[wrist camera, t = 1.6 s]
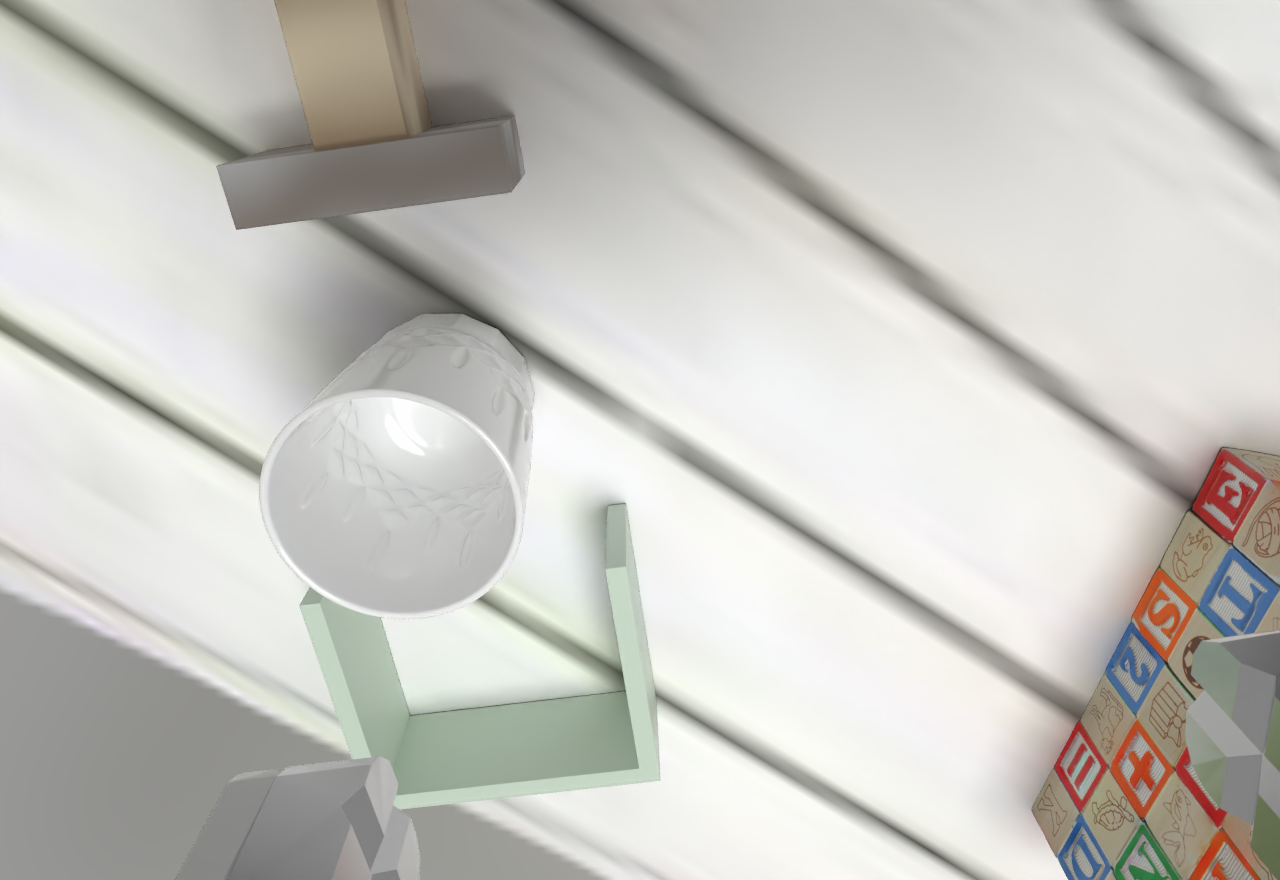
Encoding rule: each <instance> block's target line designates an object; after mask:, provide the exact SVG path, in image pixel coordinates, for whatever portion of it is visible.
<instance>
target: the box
mask: <svg viewBox="0 0 1280 880" xmlns="http://www.w3.org/2000/svg"><path fill="white" fill-rule="evenodd" d="M605 572H606V577H607V583H608V589H609V595H610V601H611V606H612V612H613V618H614V624H615V630H616V636H617V641H618V647H619V653H620V659H621V665H622V671H623V676H624V682H625V688H626V691H623V692H614V693H605V694H597V695H588V696H579V697H570V698H562V699H553V700H544V701H535V702H527V703H518V704H509V705H500V706H492V707H483V708H474V709H465V710H456V711H448V712H439V713H430V714H421V715H413V716H410V714H409V711H408V707H407V704H406V701H405V697H404V694H403V691H402V688H401V684H400V681H399V678H398V674H397V671H396V668H395V664H394V661H393V658H392V654H391V651H390V648H389V645H388V641H387V638H386V635H385V631H384V628H383V625H382V621H381V618H380V617H376V616H371V615H367V614H363V613H360V612H356V611H354V610H351V609H348V608H346V607H343V606H341V605H339V604H337V603H335V602H333V601H331V600H329V599H327V598H325V597H324V596H322V595H321V594H319V593H318V592H316V591H315V590H313V589H312V588H311V587H310V588H309V590H308V591H307V593H306V595H305V597H304V598H303V600H302V602H301V604H300V605H299V606H300V609H301V612H302V615H303V618H304V621H305V624H306V626H307V629H308V632H309V635H310V638H311V641H312V644H313V647H314V650H315V653H316V655H317V658H318V661H319V664H320V667H321V670H322V673H323V676H324V679H325V681H326V684H327V687H328V690H329V693H330V696H331V699H332V702H333V705H334V708H335V710H336V713H337V716H338V719H339V722H340V725H341V728H342V731H343V734H344V736H345V739H346V742H347V745H348V748H349V751H350V754H351V757H352V759H361V758H369V757H378V756H380V757H383V758H385V759H387V760H389V761H390V764H391V766H392V769H393V771H394V774H395V776H396V779H397V781H398V784H399V786H398V790H397V793H396V797H395V800H394V804H393V805H394V806H395V807H397V808H398V809H407V808H416V807H426V806H435V805H444V804H453V803H462V802H471V801H480V800H490V799H499V798H508V797H517V796H526V795H535V794H544V793H553V792H562V791H571V790H580V789H589V788H599V787H608V786H617V785H626V784H635V783H644V782H653V781H660V762H659V742H658V721H657V701H656V694H655V688H654V682H653V675H652V669H651V662H650V656H649V649H648V643H647V636H646V630H645V623H644V617H643V611H642V604H641V598H640V591H639V585H638V578H637V572H636V565H635V559H634V552H633V546H632V539H631V533H630V527H629V520H628V514H627V507H626V504H617V505H609V506H607V531H606V558H605Z"/></svg>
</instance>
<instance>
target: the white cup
mask: <svg viewBox="0 0 1280 880" xmlns="http://www.w3.org/2000/svg"><path fill="white" fill-rule="evenodd" d="M534 395H535V392H534V389H533V386H532V382H531V379H530V376H529V372H528V369H527V366H526V362H525V359H524V357H523V356H522V355H521V354H520V353H519V352H518V351H517V350H516V348H515V347H514V346H513V345H512V344H511V343H510V342H509V341H508V340H507V339H506V337H505V336H504V335H503V334H502V333H501V332H500V331H499V330H498V329H496V328H494V327H491V326H489V325H487V324H485V323H482V322H480V321H478V320H476V319H473V318H471V317H469V316H466V315H464V314H421V315H419V316H417V317H415V318H413V319H411V320H409V321H407V322H405V323H403V324H401V325H399V326H397V327H395V328H393V329H391V330H389V331H388V332H387V333H386V334H385V335H384V336H383V337H382V338H381V339H380V340H379V341H378V342H377V343H375V344H374V345H372V346H371V347H370V348H368V349H367V350H366V351H364V352H363V353H362V354H361V355H360V356H359V357H358V358H357V359H356V360H355V361H353V362H352V363H351V364H350V365H348V366H347V367H346V368H345V369H344V370H343V371H342V372H341V373H339V374H338V375H337V376H336V377H335V378H334V379H333V380H332V381H331V382H330V383H329V384H328V385H327V386H326V387H325V388H324V389H323V390H322V391H321V392H320V393H319V394H318V395H317V396H316V397H315V398H314V399H313V400H312V401H311V402H310V403H309V404H308V405H307V406H306V407H305V408H304V409H302V410H301V411H300V412H299V413H298V414H297V415H296V416H295V417H294V418H293V419H292V420H291V421H290V422H289V423H288V424H287V425H286V426H285V427H284V428H283V429H282V431H281V432H280V433H279V434H278V436H277V437H276V439H275V440H274V442H273V443H272V445H271V447H270V449H269V451H268V453H267V455H266V458H265V461H264V464H263V467H262V472H261V477H260V486H259V499H260V508H261V513H262V518H263V521H264V524H265V527H266V530H267V533H268V535H269V537H270V539H271V541H272V543H273V545H274V547H275V549H276V550H277V552H278V553H279V555H280V556H281V558H282V559H283V561H284V562H285V563H286V564H287V566H288V567H289V568H290V569H291V570H292V571H293V572H294V573H295V574H296V575H297V576H298V577H299V578H300V579H301V580H302V581H303V582H304V583H306V584H307V585H308V586H309V587H311V588H312V589H313V590H315V591H316V592H318V593H319V594H321V595H322V596H324V597H325V598H327V599H329V600H331V601H333V602H335V603H337V604H339V605H341V606H343V607H346V608H348V609H351V610H354V611H356V612H360V613H363V614H367V615H371V616H376V617H381V618H389V619H421V618H429V617H434V616H439V615H442V614H446V613H449V612H452V611H455V610H457V609H460V608H462V607H464V606H466V605H468V604H470V603H472V602H473V601H475V600H477V599H478V598H480V597H481V596H483V595H484V594H485V593H486V592H488V591H489V590H490V589H491V588H492V587H493V586H494V585H495V584H496V583H497V582H498V581H499V580H500V579H501V578H502V576H503V575H504V574H505V572H506V571H507V570H508V568H509V566H510V565H511V563H512V561H513V559H514V557H515V555H516V553H517V550H518V547H519V544H520V541H521V537H522V532H523V524H524V515H525V507H526V499H527V491H528V483H529V475H530V468H531V453H532V439H533V419H532V409H533V402H534Z"/></svg>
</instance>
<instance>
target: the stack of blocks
mask: <svg viewBox="0 0 1280 880" xmlns="http://www.w3.org/2000/svg"><path fill="white" fill-rule="evenodd" d="M1131 619H1132V622H1131V623H1130V624H1129V626H1128V628H1127V630H1126V632H1125V634H1124V636H1123V638H1122V640H1121V642H1120V643H1119V645H1118V647H1117V649H1116V651H1115V653H1114V655H1113V657H1112V659H1111V661H1110V663H1109V664H1108V666H1107V668H1106V673H1105V674H1104V675H1103V677H1102V679H1101V681H1100V683H1099V685H1098V687H1097V688H1096V690H1095V692H1094V694H1093V696H1092V698H1091V700H1090V702H1089V704H1088V706H1087V708H1086V710H1085V712H1084V713H1083V715H1082V718H1081V720H1080V721H1079V722H1078V723H1077V724H1076V726H1075V728H1074V730H1073V731H1072V733H1071V735H1070V737H1069V739H1068V741H1067V743H1066V745H1065V747H1064V749H1063V751H1062V753H1061V754H1060V756H1059V758H1058V760H1057V762H1056V764H1055V766H1054V768H1053V770H1052V771H1051V773H1050V775H1049V776H1048V778H1047V780H1046V782H1045V784H1044V786H1043V788H1042V790H1041V792H1040V794H1039V795H1038V797H1037V799H1036V801H1035V803H1034V805H1033V807H1032V813H1033V815H1034V817H1035V818H1036V820H1037V822H1038V824H1039V826H1040V828H1041V829H1042V831H1043V833H1044V835H1045V837H1046V840H1047V841H1048V843H1049V845H1050V847H1051V849H1052V851H1053V853H1054V854H1055V856H1056V857H1057V858H1058V860H1059V862H1060V864H1061V866H1062V868H1063V871H1064V873H1065V874H1066V876H1067V878H1068V880H1277V879H1276V878H1275V877H1274V875H1273V874H1272V873H1271V872H1270V870H1269V869H1268V868H1267V867H1266V865H1265V864H1264V863H1263V862H1262V860H1261V859H1260V858H1259V857H1258V855H1257V854H1256V853H1255V852H1254V850H1253V849H1252V848H1251V847H1250V846H1251V830H1252V825H1251V824H1249V823H1247V822H1245V821H1243V820H1241V819H1239V818H1237V817H1236V816H1234V815H1232V814H1230V813H1228V812H1226V811H1224V810H1222V809H1220V808H1219V806H1218V805H1217V804H1216V803H1215V801H1214V800H1213V799H1212V797H1211V796H1210V795H1209V793H1208V792H1207V791H1206V790H1205V788H1204V787H1203V785H1202V783H1201V781H1200V779H1199V777H1198V776H1197V774H1196V772H1195V770H1194V768H1193V766H1192V763H1191V759H1190V755H1189V751H1188V747H1187V744H1186V740H1185V728H1186V712H1187V709H1188V708H1189V707H1190V706H1191V705H1192V704H1193V703H1194V701H1195V700H1196V699H1197V698H1198V697H1199V696H1200V695H1201V693H1202V692H1203V691H1204V689H1203V688H1202V687H1201V685H1200V684H1199V683H1198V682H1197V681H1196V680H1195V679H1194V678H1193V676H1192V675H1191V669H1192V661H1193V653H1194V652H1195V650H1196V649H1197V647H1198V646H1199V644H1200V642H1201V641H1203V640H1210V639H1216V638H1223V637H1230V636H1237V635H1244V634H1250V633H1257V632H1264V631H1271V630H1277V629H1280V457H1278V456H1273V455H1268V454H1263V453H1257V452H1251V451H1245V450H1239V449H1231V448H1222V449H1221V451H1220V453H1219V454H1218V457H1217V459H1216V461H1215V463H1214V465H1213V467H1212V469H1211V471H1210V473H1209V475H1208V477H1207V479H1206V481H1205V483H1204V485H1203V487H1202V489H1201V490H1200V492H1199V494H1198V497H1197V499H1196V501H1195V502H1194V504H1193V509H1192V510H1191V511H1188V512H1187V513H1186V515H1185V517H1184V519H1183V521H1182V522H1181V524H1180V526H1179V528H1178V530H1177V532H1176V534H1175V536H1174V538H1173V540H1172V541H1171V543H1170V545H1169V547H1168V549H1167V551H1166V553H1165V555H1164V557H1163V560H1162V562H1161V566H1160V568H1159V569H1158V570H1157V571H1156V573H1155V574H1154V576H1153V578H1152V580H1151V582H1150V584H1149V586H1148V588H1147V589H1146V591H1145V593H1144V595H1143V597H1142V598H1141V600H1140V602H1139V604H1138V606H1137V608H1136V610H1135V612H1134V614H1133V615H1132V618H1131Z"/></svg>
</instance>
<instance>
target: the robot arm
mask: <svg viewBox="0 0 1280 880" xmlns="http://www.w3.org/2000/svg"><path fill="white" fill-rule="evenodd" d="M1191 675H1192V676H1193V678H1194V679H1195V680H1196V681H1197V682H1198V683H1199V684H1200V685H1201V687H1202V688H1203V689H1204V691H1203V692H1202V693H1201V695H1200V696H1199V697H1198V698H1197V699H1196V700H1195V701H1194V703H1193V704H1192V705H1191V706H1190V707H1189V708H1188V709H1187V712H1186V728H1185V740H1186V744H1187V747H1188V751H1189V755H1190V759H1191V763H1192V766H1193V768H1194V770H1195V772H1196V774H1197V776H1198V777H1199V779H1200V781H1201V783H1202V785H1203V787H1204V788H1205V790H1206V791H1207V792H1208V793H1209V795H1210V796H1211V797H1212V799H1213V800H1214V801H1215V803H1216V804H1217V805H1218V806H1219V808H1220V809H1222V810H1224V811H1226V812H1228V813H1230V814H1232V815H1234V816H1236V817H1237V818H1239V819H1241V820H1243V821H1245V822H1247V823H1249V824H1251V825H1252V830H1251V846H1250V847H1251V848H1252V849H1253V850H1254V852H1255V853H1256V854H1257V855H1258V857H1259V858H1260V859H1261V860H1262V862H1263V863H1264V864H1265V865H1266V867H1267V868H1268V869H1269V870H1270V872H1271V873H1272V874H1273V875H1274V877H1275V878H1276V879H1277V880H1280V629H1277V630H1271V631H1264V632H1257V633H1250V634H1244V635H1237V636H1230V637H1223V638H1216V639H1210V640H1203V641H1201V642H1200V644H1199V646H1198V647H1197V649H1196V650H1195V652H1194V653H1193V661H1192V669H1191ZM398 786H399V784H398V781H397V779H396V776H395V774H394V771H393V769H392V766H391V764H390V761H389V760H387V759H385V758H383V757H380V756H378V757H369V758H361V759H352V760H344V761H335V762H326V763H318V764H309V765H301V766H292V767H287V768H286V769H275V770H267V771H257V772H249V773H240V774H239V775H237V776H236V777H235V778H233V779H232V780H231V781H229V782H228V783H227V784H226V786H225V788H224V789H223V791H222V793H221V795H220V797H219V799H218V801H217V802H216V804H215V806H214V808H213V810H212V812H211V814H210V815H209V817H208V819H207V821H206V823H205V825H204V827H203V828H202V830H201V832H200V834H199V836H198V838H197V839H196V841H195V843H194V845H193V847H192V849H191V851H190V853H189V854H188V856H187V858H186V860H185V862H184V864H183V865H182V867H181V869H180V871H179V873H178V875H177V877H176V878H175V880H419V875H420V854H419V848H418V842H417V836H416V832H415V829H414V826H413V824H412V821H411V818H410V817H409V816H408V815H406V814H405V813H404V812H402V811H401V810H399V809H398V808H397V807H395V806H394V805H393V804H394V800H395V797H396V793H397V790H398Z"/></svg>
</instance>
